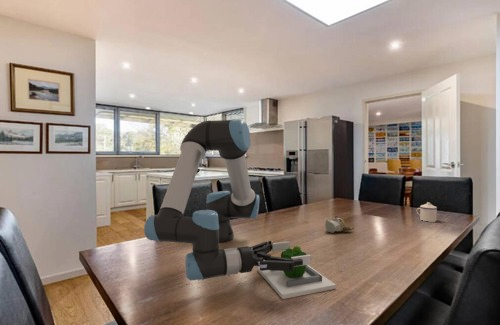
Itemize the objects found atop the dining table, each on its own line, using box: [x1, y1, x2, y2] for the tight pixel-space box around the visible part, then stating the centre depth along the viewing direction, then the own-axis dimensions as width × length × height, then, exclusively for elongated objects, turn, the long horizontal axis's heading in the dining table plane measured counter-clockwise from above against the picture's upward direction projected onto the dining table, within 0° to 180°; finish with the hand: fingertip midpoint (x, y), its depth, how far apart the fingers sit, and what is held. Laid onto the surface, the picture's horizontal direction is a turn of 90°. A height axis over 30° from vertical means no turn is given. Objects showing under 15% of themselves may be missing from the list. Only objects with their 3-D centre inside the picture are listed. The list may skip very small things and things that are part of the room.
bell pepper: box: [280, 245, 307, 278], centre depth 86 cm, size 8×8×10 cm
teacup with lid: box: [416, 201, 438, 223], centre depth 167 cm, size 12×9×12 cm
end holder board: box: [257, 264, 337, 300], centre depth 86 cm, size 20×18×3 cm
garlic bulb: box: [324, 215, 354, 234], centre depth 142 cm, size 11×9×15 cm
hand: (299, 251), depth 87 cm, fingers open, 13 cm apart
